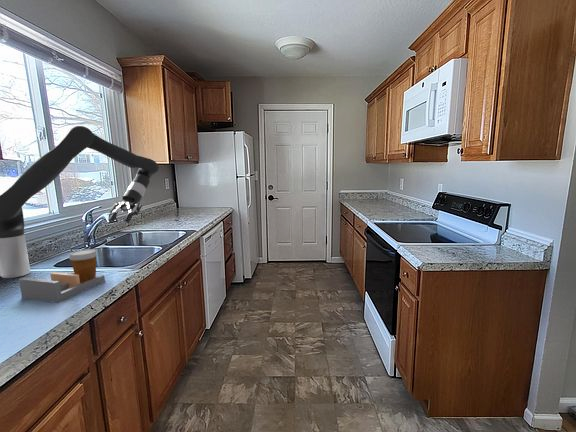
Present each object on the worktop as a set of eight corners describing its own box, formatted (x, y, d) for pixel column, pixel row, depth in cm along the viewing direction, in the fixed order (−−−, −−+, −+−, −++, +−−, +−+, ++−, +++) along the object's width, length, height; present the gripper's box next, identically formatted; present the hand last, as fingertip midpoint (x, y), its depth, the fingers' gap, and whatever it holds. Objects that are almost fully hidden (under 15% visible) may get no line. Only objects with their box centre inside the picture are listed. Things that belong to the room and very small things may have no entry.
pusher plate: (47, 289, 112) (44, 275, 111) (55, 286, 115) (53, 272, 114) (72, 292, 109) (70, 277, 108) (80, 288, 112) (78, 274, 111)
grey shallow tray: (21, 298, 105) (18, 279, 104) (73, 278, 124) (70, 261, 123) (57, 302, 102) (54, 283, 100) (105, 281, 120) (103, 264, 119)
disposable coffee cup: (73, 287, 114) (69, 257, 113) (71, 280, 122) (67, 251, 120) (102, 281, 120) (98, 252, 118) (98, 274, 128) (95, 247, 126)
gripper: (117, 188, 144) (100, 216, 135) (142, 188, 140) (126, 217, 131) (127, 198, 150) (111, 225, 141) (151, 198, 146) (136, 226, 137)
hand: (118, 221), depth 136 cm, fingers open, 8 cm apart
